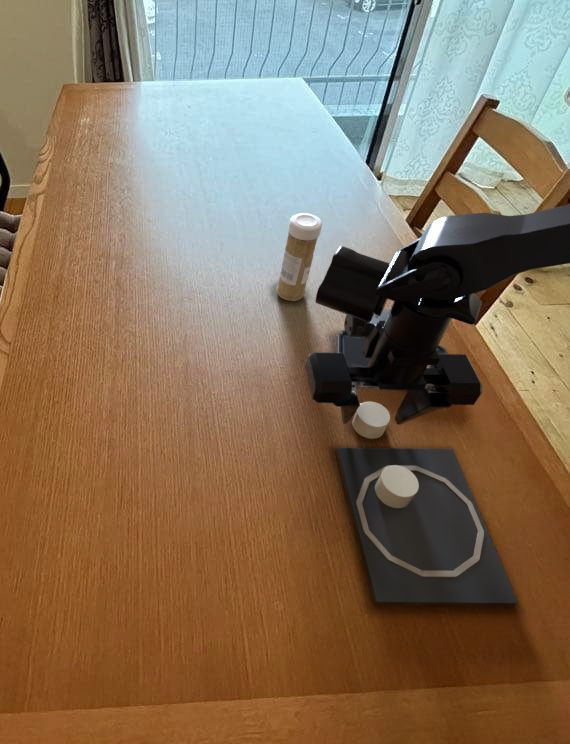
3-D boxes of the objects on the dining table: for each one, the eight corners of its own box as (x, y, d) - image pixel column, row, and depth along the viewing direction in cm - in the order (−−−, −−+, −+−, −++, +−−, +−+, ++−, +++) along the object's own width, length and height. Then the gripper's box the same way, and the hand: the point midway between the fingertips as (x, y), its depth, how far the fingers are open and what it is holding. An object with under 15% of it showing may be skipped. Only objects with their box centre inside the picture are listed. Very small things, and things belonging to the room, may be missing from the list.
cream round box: (379, 413, 72) (385, 401, 70) (388, 439, 69) (394, 427, 67) (348, 413, 72) (353, 401, 70) (356, 438, 69) (361, 426, 67)
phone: (339, 328, 81) (446, 346, 79) (337, 334, 82) (443, 352, 80) (338, 367, 76) (453, 387, 73) (336, 372, 76) (450, 393, 74)
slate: (449, 453, 68) (453, 448, 67) (513, 606, 55) (519, 602, 54) (335, 452, 68) (337, 447, 67) (373, 605, 55) (377, 601, 54)
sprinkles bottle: (309, 298, 88) (328, 226, 78) (284, 304, 86) (300, 232, 77) (295, 281, 91) (312, 209, 81) (270, 287, 89) (284, 214, 80)
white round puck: (405, 477, 64) (412, 465, 62) (416, 508, 61) (423, 497, 60) (370, 476, 64) (377, 464, 62) (380, 508, 61) (387, 496, 60)
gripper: (470, 285, 64) (423, 374, 75) (310, 282, 64) (286, 372, 75) (512, 354, 56) (453, 442, 68) (329, 352, 56) (300, 440, 67)
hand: (370, 421), depth 70 cm, fingers open, 6 cm apart
